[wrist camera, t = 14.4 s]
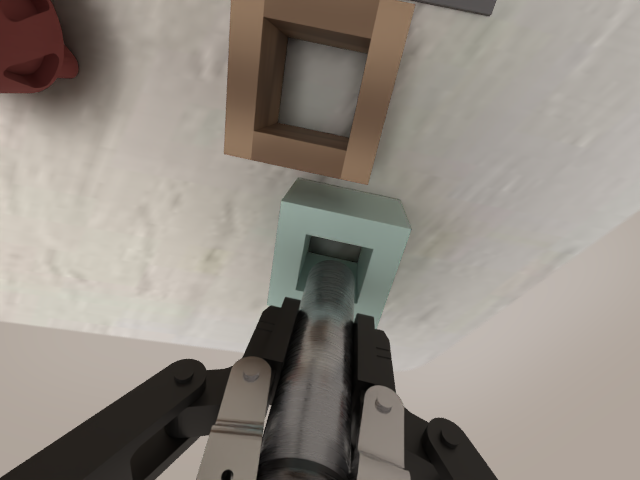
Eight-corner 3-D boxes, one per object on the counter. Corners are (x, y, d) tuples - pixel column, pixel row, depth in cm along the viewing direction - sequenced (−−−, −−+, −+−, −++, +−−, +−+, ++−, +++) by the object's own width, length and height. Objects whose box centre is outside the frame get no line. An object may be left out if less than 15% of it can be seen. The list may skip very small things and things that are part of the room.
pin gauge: (311, 254, 16) (238, 496, 6) (361, 265, 16) (363, 527, 6) (303, 294, 18) (231, 551, 8) (349, 305, 17) (337, 577, 8)
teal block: (298, 177, 21) (281, 200, 16) (399, 199, 20) (411, 229, 16) (284, 265, 24) (267, 305, 19) (372, 285, 24) (376, 329, 19)
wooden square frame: (266, 1, 17) (232, -33, 12) (400, 29, 16) (415, 4, 12) (254, 140, 20) (223, 153, 15) (365, 164, 20) (367, 184, 15)
